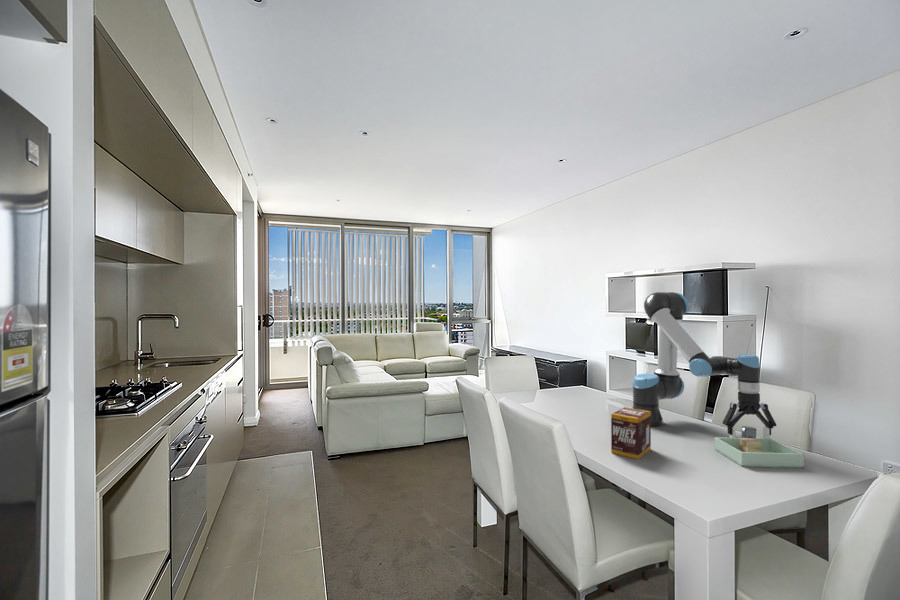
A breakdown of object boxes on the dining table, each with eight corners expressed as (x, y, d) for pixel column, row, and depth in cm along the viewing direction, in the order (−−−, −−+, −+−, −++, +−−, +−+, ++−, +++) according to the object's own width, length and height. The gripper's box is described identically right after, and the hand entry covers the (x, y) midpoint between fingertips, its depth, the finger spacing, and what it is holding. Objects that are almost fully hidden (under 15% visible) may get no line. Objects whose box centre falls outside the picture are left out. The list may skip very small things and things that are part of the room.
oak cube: (739, 451, 167) (739, 438, 167) (753, 451, 167) (753, 438, 167) (747, 455, 162) (747, 442, 162) (761, 455, 162) (761, 442, 162)
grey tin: (738, 442, 179) (738, 426, 179) (751, 442, 178) (751, 426, 178) (746, 446, 174) (746, 429, 174) (759, 446, 173) (759, 430, 173)
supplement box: (610, 453, 166) (610, 413, 167) (625, 443, 178) (625, 406, 178) (637, 459, 159) (637, 418, 159) (651, 449, 171) (651, 410, 171)
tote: (714, 449, 170) (714, 437, 170) (770, 451, 169) (770, 438, 169) (741, 466, 153) (741, 452, 153) (803, 468, 151) (803, 454, 151)
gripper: (722, 393, 173) (723, 445, 173) (786, 394, 172) (787, 446, 171) (712, 389, 181) (713, 439, 180) (773, 390, 179) (774, 440, 179)
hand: (749, 442), depth 176 cm, fingers open, 13 cm apart
